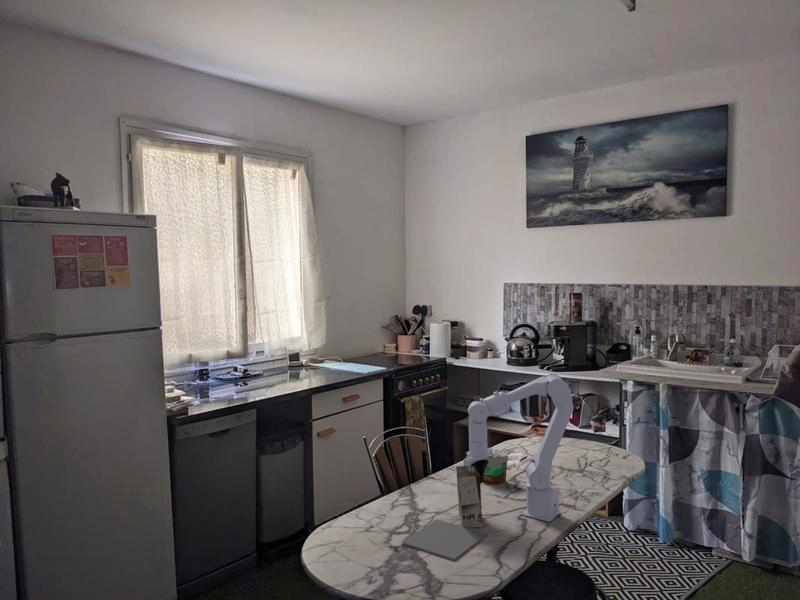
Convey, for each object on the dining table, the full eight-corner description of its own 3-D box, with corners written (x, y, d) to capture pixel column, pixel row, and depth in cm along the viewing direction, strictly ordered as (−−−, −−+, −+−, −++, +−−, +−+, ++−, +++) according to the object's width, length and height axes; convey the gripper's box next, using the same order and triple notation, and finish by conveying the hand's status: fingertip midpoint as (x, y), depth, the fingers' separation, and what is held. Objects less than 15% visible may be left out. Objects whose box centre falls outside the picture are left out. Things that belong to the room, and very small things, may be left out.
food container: (471, 483, 214) (470, 456, 214) (477, 477, 220) (476, 451, 219) (504, 487, 209) (503, 459, 208) (509, 481, 214) (508, 454, 214)
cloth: (514, 451, 250) (513, 446, 250) (542, 458, 240) (542, 452, 240) (475, 468, 232) (475, 462, 232) (504, 475, 222) (504, 469, 222)
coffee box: (483, 527, 178) (480, 475, 176) (462, 528, 178) (458, 476, 176) (479, 513, 187) (476, 464, 185) (458, 514, 187) (455, 465, 185)
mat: (487, 535, 172) (487, 533, 172) (454, 561, 158) (454, 558, 158) (436, 521, 184) (436, 519, 183) (401, 544, 169) (401, 542, 169)
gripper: (478, 432, 194) (479, 473, 195) (454, 443, 183) (455, 486, 183) (498, 436, 190) (498, 477, 190) (474, 447, 178) (475, 491, 179)
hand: (478, 482), depth 187 cm, fingers closed
